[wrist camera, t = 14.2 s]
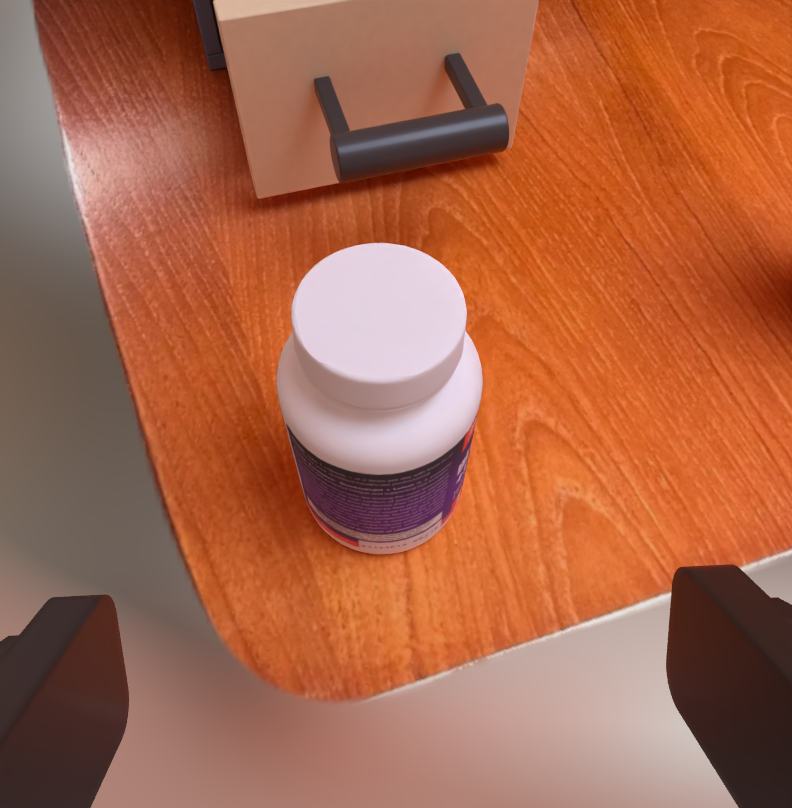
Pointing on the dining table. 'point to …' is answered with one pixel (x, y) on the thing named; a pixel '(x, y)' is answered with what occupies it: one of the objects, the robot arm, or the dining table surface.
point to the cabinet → (210, 33)
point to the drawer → (372, 84)
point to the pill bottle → (380, 395)
